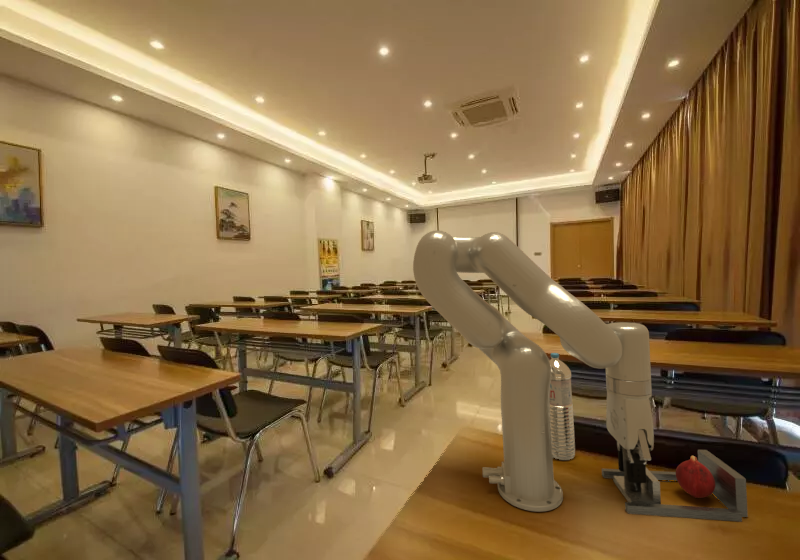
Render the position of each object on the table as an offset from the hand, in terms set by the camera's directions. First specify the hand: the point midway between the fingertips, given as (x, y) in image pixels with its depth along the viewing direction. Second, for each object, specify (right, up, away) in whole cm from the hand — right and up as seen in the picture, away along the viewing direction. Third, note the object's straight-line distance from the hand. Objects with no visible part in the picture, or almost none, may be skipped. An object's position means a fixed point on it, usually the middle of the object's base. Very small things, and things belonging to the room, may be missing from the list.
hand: (632, 475), depth 68 cm
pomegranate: (+11, -3, -2) cm, 12 cm away
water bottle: (-7, -4, +16) cm, 18 cm away
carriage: (0, -4, 0) cm, 4 cm away
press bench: (+6, -3, -1) cm, 7 cm away
